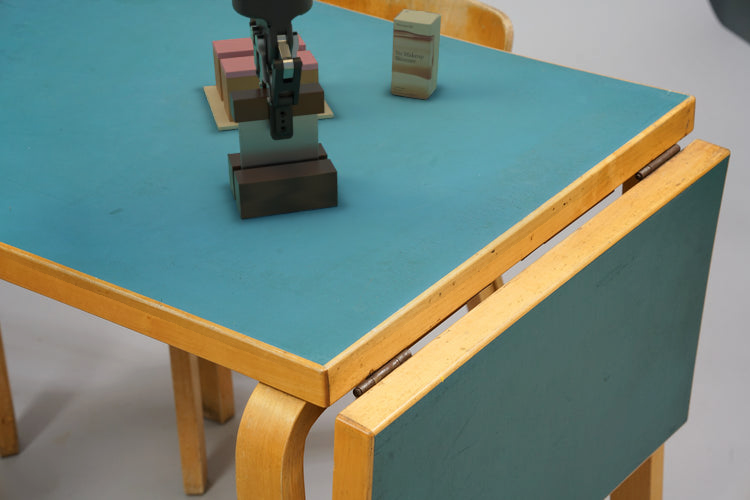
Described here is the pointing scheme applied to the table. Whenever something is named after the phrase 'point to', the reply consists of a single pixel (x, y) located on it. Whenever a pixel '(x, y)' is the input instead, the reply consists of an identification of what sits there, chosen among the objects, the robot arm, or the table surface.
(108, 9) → the table surface
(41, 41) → the table surface
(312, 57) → the pink slotted holder
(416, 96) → the cosmetic box
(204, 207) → the table surface
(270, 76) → the robot arm
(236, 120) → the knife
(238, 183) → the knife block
